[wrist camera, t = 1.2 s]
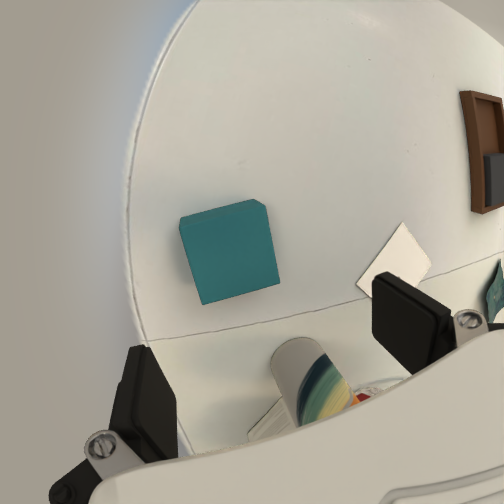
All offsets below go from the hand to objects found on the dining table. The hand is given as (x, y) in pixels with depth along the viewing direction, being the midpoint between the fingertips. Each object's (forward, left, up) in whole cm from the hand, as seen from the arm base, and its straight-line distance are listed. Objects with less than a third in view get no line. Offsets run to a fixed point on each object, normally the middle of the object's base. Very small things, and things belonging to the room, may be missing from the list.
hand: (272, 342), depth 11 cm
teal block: (0, 0, -14) cm, 14 cm away
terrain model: (+21, +42, -14) cm, 49 cm away
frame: (-4, +36, -14) cm, 39 cm away
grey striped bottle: (+14, +4, -14) cm, 20 cm away
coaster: (+8, +17, -14) cm, 23 cm away
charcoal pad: (-1, +36, -14) cm, 38 cm away
